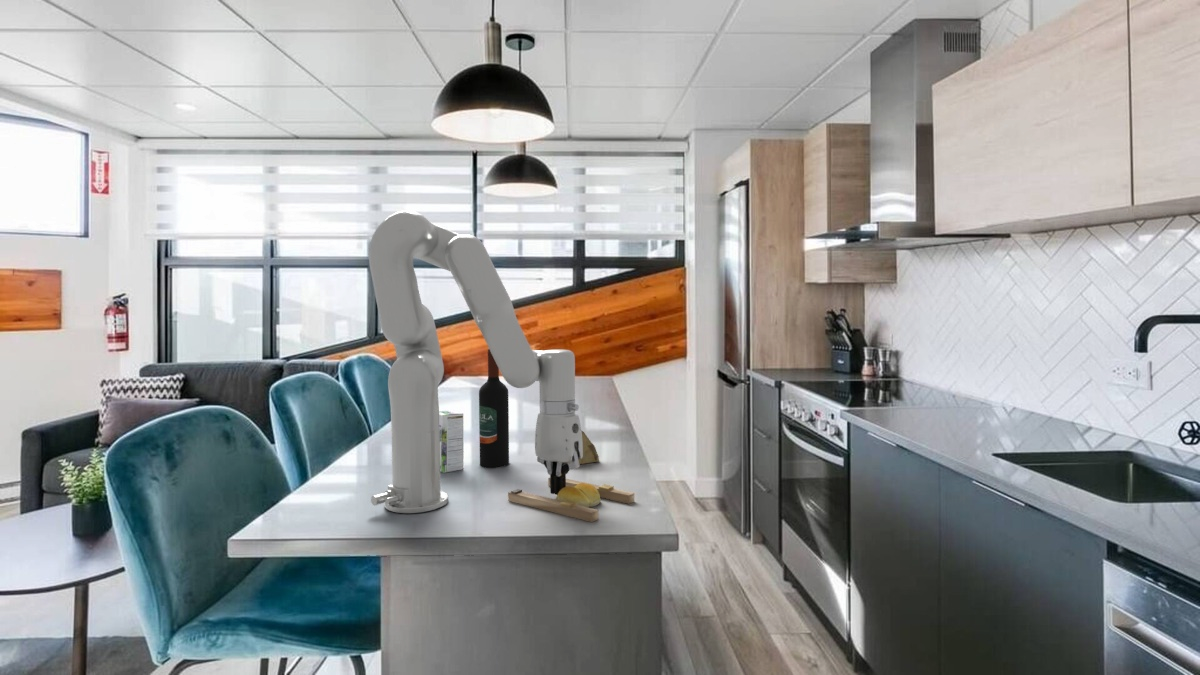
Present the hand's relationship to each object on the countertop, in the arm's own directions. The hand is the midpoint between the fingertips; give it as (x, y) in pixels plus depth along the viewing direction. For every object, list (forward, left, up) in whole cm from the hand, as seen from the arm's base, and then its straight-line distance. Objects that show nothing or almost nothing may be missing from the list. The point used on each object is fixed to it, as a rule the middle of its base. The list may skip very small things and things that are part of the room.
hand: (558, 492), depth 129 cm
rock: (+26, +14, -2) cm, 29 cm away
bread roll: (0, -6, -2) cm, 6 cm away
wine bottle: (+12, +31, -1) cm, 34 cm away
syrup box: (+2, +37, -1) cm, 37 cm away
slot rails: (0, -4, -1) cm, 4 cm away
